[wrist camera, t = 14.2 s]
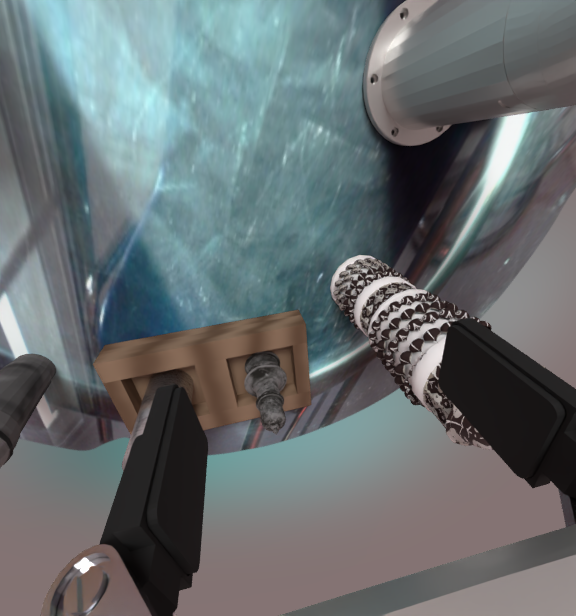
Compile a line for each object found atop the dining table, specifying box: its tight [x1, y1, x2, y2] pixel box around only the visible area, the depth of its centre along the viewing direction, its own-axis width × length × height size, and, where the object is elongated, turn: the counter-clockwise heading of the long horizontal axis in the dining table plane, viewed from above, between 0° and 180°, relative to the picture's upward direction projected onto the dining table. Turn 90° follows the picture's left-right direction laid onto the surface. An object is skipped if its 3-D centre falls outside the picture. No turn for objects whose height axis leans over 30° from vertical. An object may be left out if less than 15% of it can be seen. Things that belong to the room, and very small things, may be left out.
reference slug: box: [122, 369, 193, 471], centre depth 35 cm, size 6×6×12 cm
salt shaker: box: [244, 351, 287, 434], centre depth 37 cm, size 6×6×12 cm
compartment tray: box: [93, 310, 311, 434], centre depth 41 cm, size 26×15×4 cm, turn 95°
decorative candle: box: [330, 255, 545, 450], centre depth 30 cm, size 9×9×25 cm
